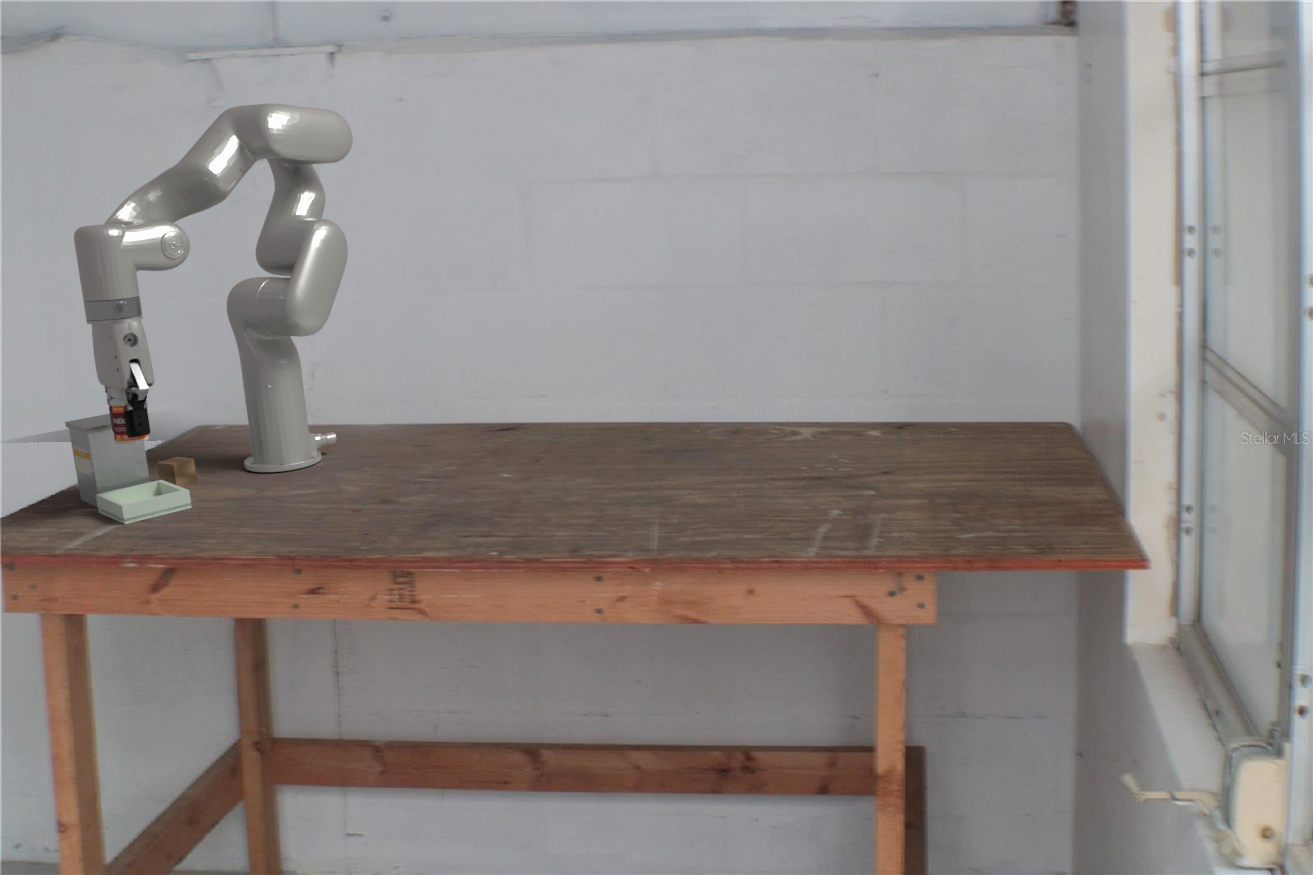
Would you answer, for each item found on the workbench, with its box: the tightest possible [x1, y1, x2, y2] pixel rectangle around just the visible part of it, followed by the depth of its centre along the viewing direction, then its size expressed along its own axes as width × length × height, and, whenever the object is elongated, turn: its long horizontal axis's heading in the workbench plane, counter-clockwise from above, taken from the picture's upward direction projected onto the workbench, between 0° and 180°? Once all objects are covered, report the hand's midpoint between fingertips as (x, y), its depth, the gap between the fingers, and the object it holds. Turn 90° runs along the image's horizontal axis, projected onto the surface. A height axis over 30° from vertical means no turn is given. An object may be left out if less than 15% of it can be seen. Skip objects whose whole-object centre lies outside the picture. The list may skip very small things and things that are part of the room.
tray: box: [96, 479, 193, 525], centre depth 183 cm, size 10×10×3 cm
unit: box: [64, 413, 151, 508], centre depth 189 cm, size 9×9×13 cm
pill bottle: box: [108, 385, 150, 445], centre depth 179 cm, size 5×5×8 cm
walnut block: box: [156, 456, 198, 488], centre depth 197 cm, size 4×4×4 cm
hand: (131, 432), depth 180 cm, fingers closed on pill bottle, 4 cm apart
